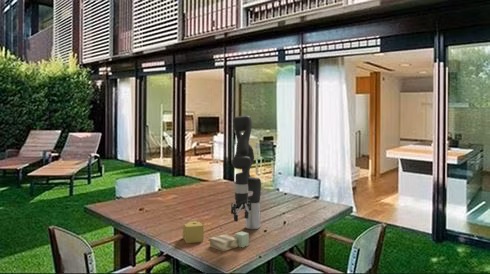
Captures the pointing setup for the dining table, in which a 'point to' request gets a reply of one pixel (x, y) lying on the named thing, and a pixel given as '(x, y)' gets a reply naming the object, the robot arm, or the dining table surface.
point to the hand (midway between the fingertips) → (241, 219)
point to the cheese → (193, 232)
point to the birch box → (224, 242)
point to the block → (242, 239)
